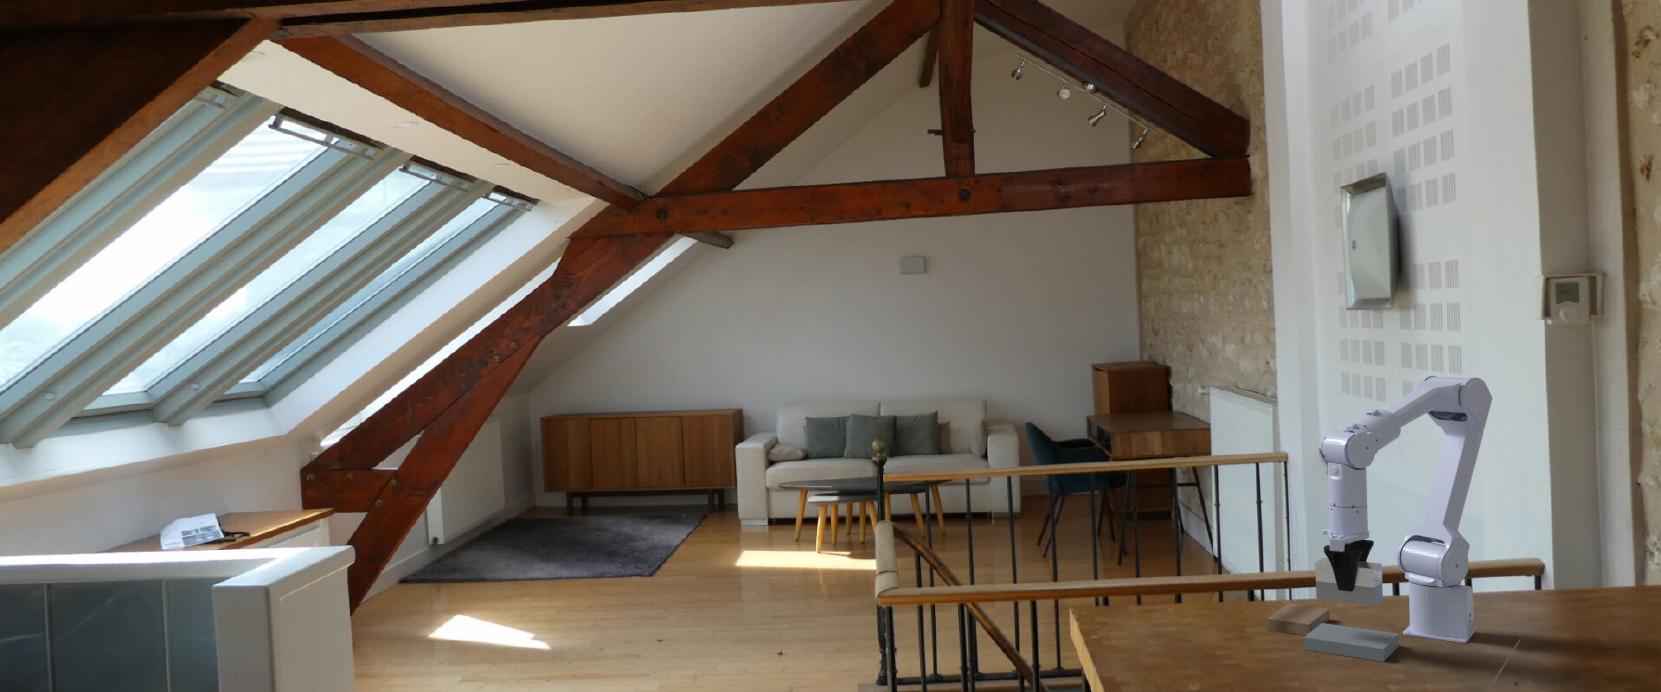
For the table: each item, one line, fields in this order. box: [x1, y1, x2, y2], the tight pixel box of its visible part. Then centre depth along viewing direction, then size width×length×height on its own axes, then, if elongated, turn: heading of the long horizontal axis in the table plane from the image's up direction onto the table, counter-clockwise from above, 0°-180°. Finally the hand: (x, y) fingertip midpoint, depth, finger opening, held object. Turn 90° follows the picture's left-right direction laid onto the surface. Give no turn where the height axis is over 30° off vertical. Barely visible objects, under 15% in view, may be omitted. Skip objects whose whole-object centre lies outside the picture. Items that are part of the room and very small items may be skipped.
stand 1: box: [1266, 603, 1331, 637], centre depth 195 cm, size 7×12×2 cm, turn 140°
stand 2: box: [1303, 623, 1400, 662], centre depth 181 cm, size 12×10×2 cm
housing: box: [1314, 557, 1384, 607], centre depth 181 cm, size 4×9×6 cm, turn 50°
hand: (1350, 587), depth 181 cm, fingers closed on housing, 4 cm apart
